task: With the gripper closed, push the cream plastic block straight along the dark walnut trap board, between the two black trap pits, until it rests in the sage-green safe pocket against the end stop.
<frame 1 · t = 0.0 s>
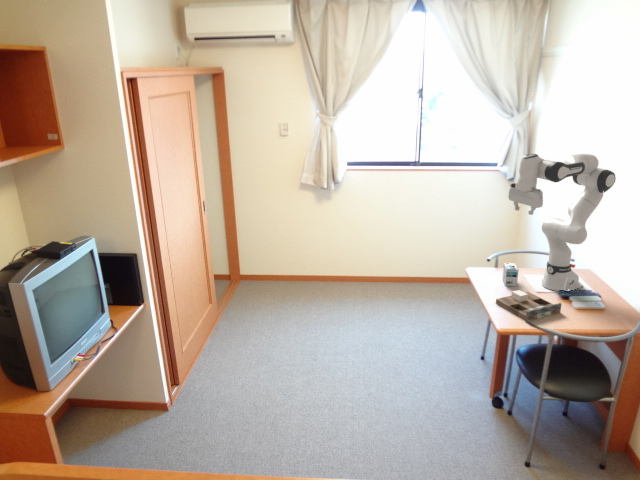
hand: (523, 212, 247), 48 cm above the table, tool pointing down, fingers open, 8 cm apart
trap board: (527, 307, 248), on the table
light bulb box: (509, 283, 279), on the table
block: (519, 298, 253), point 2 cm above the table, touching trap board
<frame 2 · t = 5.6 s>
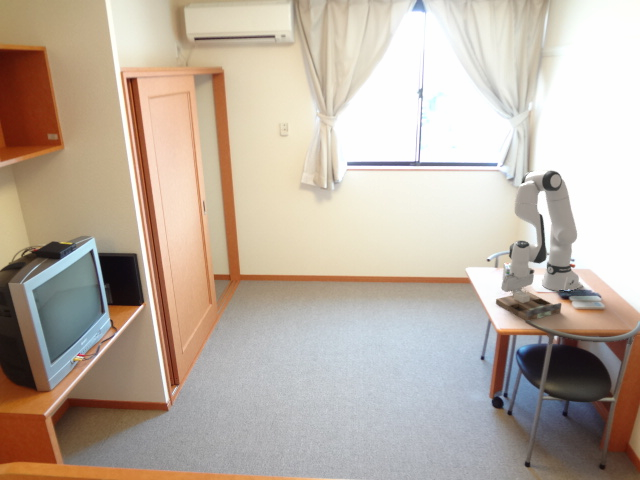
hand: (515, 295, 254), 4 cm above the table, tool pointing down, fingers closed
block: (521, 299, 251), point 3 cm above the table, touching gripper
everything else where it was.
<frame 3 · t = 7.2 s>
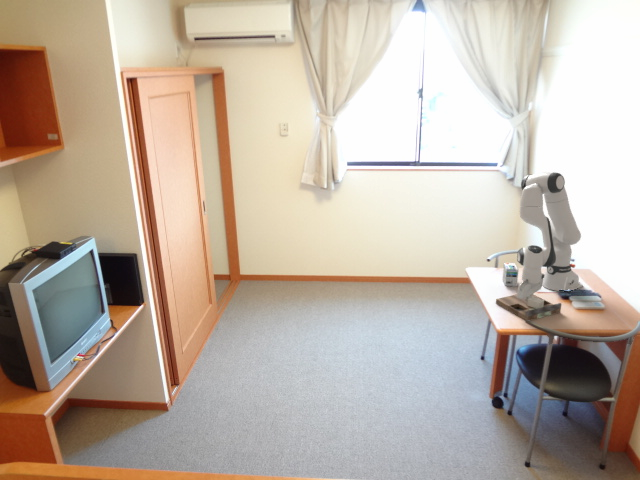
hand: (527, 301, 247), 4 cm above the table, tool pointing down, fingers closed, pressing on block
block: (535, 305, 245), point 3 cm above the table, touching gripper, trap board
everything else where it was.
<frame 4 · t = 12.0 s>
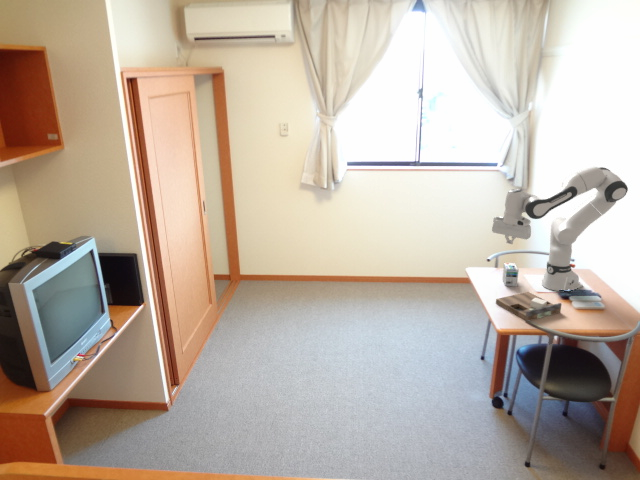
hand: (509, 243, 258), 29 cm above the table, tool pointing down, fingers closed
block: (538, 306, 243), point 2 cm above the table, touching trap board
everything else where it was.
at the end: block 2.1 cm from the target spot on the trap board, point 2.5 cm above the trap board's base; block tilted 0° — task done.
